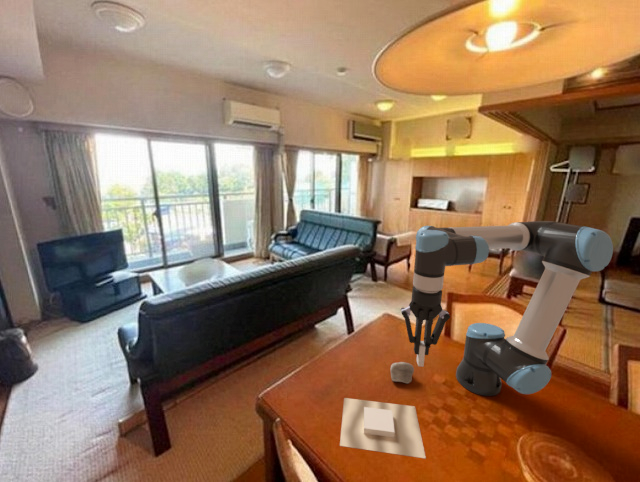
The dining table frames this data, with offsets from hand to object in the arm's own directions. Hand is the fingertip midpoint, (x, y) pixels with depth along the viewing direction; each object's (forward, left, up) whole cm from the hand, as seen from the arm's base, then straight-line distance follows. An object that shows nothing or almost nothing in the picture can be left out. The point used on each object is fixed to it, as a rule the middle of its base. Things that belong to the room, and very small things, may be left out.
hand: (419, 363), depth 81 cm
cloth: (+10, 0, -24) cm, 26 cm away
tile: (+6, 0, -22) cm, 23 cm away
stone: (+3, -24, -25) cm, 34 cm away
